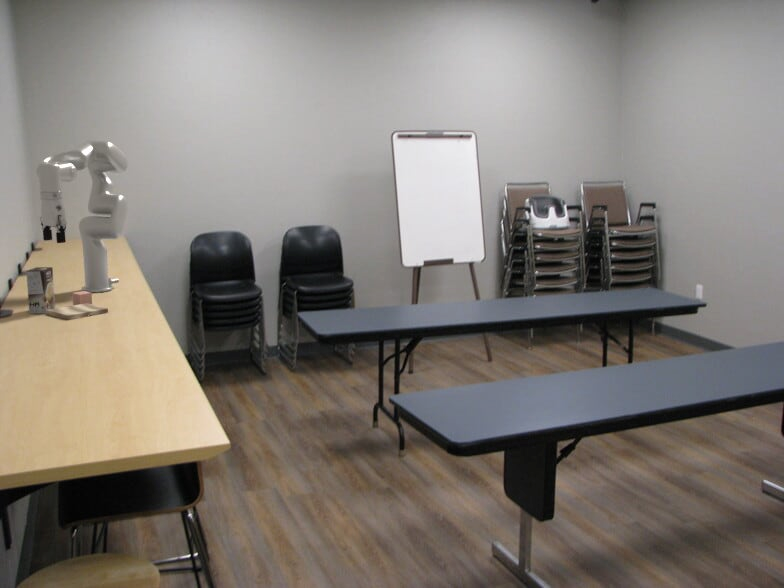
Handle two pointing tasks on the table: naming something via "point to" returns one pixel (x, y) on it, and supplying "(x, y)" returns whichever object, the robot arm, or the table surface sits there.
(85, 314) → the birch board
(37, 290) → the coffee box
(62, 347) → the table surface
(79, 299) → the coral cube
